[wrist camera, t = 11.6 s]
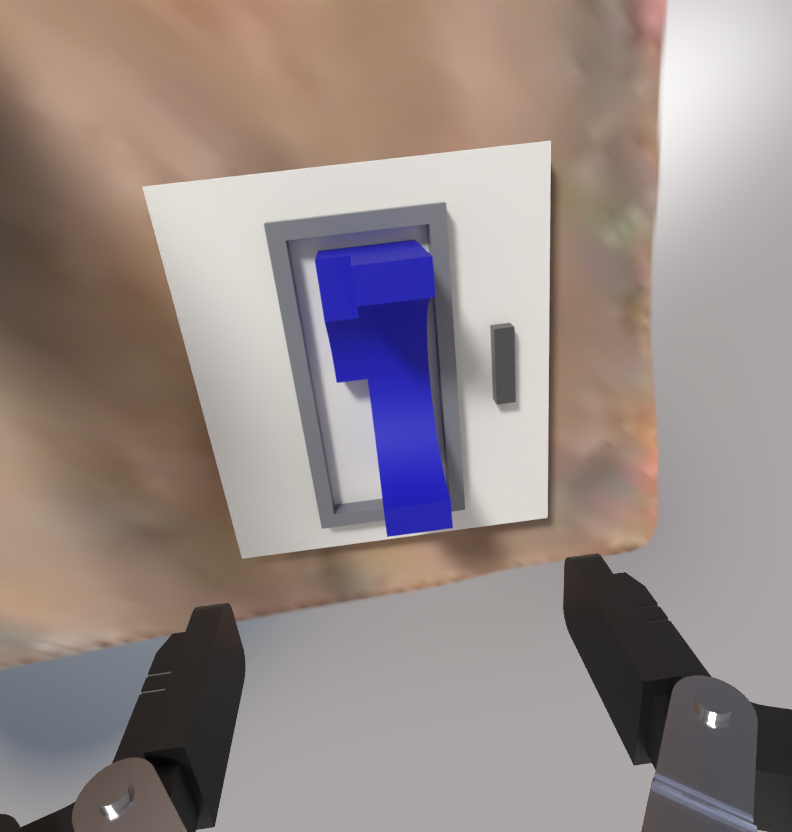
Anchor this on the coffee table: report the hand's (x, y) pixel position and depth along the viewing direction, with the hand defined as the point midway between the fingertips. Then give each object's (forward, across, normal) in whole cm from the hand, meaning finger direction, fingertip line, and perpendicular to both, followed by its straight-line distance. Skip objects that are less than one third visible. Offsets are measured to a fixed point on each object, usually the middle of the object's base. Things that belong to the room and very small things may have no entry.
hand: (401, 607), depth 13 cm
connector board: (+18, 0, 0) cm, 18 cm away
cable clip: (+17, -1, 0) cm, 17 cm away
